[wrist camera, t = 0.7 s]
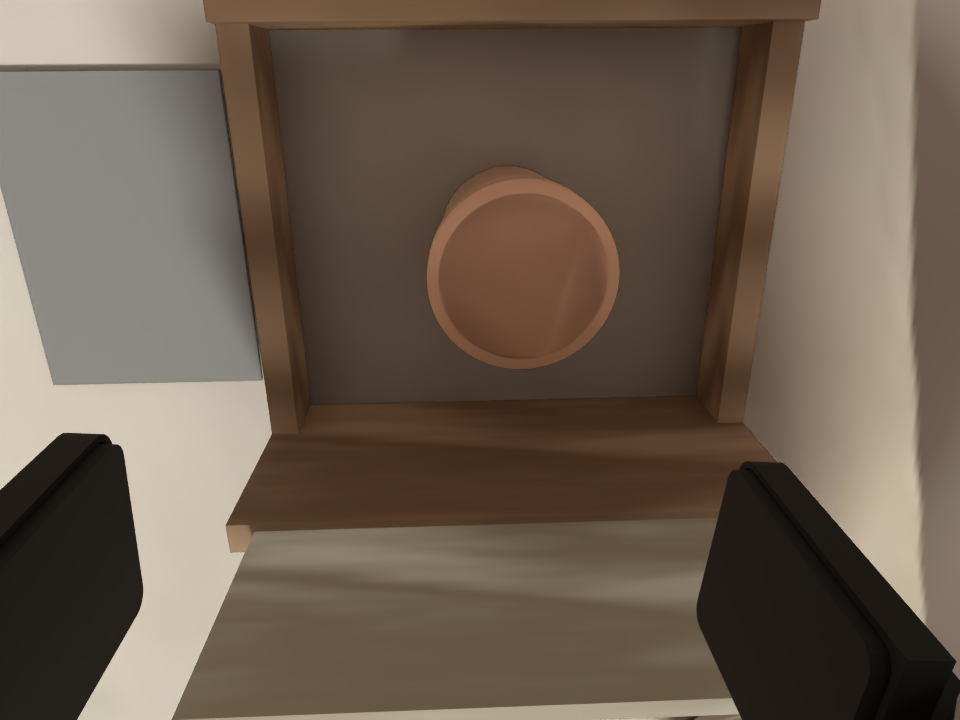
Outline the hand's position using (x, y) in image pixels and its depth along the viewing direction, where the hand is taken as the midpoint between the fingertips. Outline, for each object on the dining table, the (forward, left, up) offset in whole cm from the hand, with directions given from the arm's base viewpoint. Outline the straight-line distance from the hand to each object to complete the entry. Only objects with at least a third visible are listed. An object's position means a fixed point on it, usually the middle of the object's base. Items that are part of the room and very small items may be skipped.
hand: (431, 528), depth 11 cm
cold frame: (0, -3, -22) cm, 23 cm away
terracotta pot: (0, -3, -22) cm, 23 cm away
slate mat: (0, +14, -22) cm, 26 cm away
